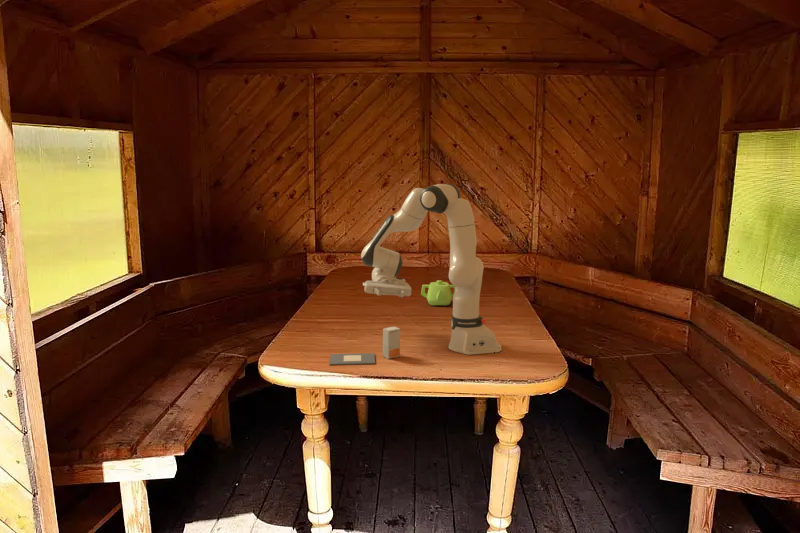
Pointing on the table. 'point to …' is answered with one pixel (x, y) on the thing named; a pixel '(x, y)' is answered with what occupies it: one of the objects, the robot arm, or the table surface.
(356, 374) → the table surface
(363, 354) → the rubber mat
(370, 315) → the table surface
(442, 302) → the teapot
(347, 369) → the table surface
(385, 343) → the skincare box
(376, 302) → the table surface
